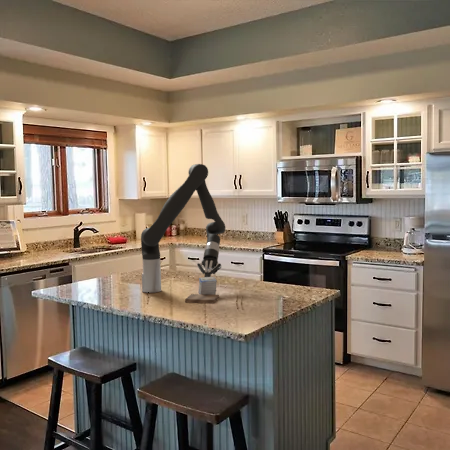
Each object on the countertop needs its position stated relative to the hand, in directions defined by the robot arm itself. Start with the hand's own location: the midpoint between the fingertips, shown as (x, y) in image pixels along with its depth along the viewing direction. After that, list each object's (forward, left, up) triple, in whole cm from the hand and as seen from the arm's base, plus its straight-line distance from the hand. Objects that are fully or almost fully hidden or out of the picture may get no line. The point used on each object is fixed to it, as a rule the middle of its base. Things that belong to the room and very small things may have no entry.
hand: (207, 280), depth 247 cm
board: (0, -10, -8) cm, 13 cm away
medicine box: (0, -1, -7) cm, 7 cm away
